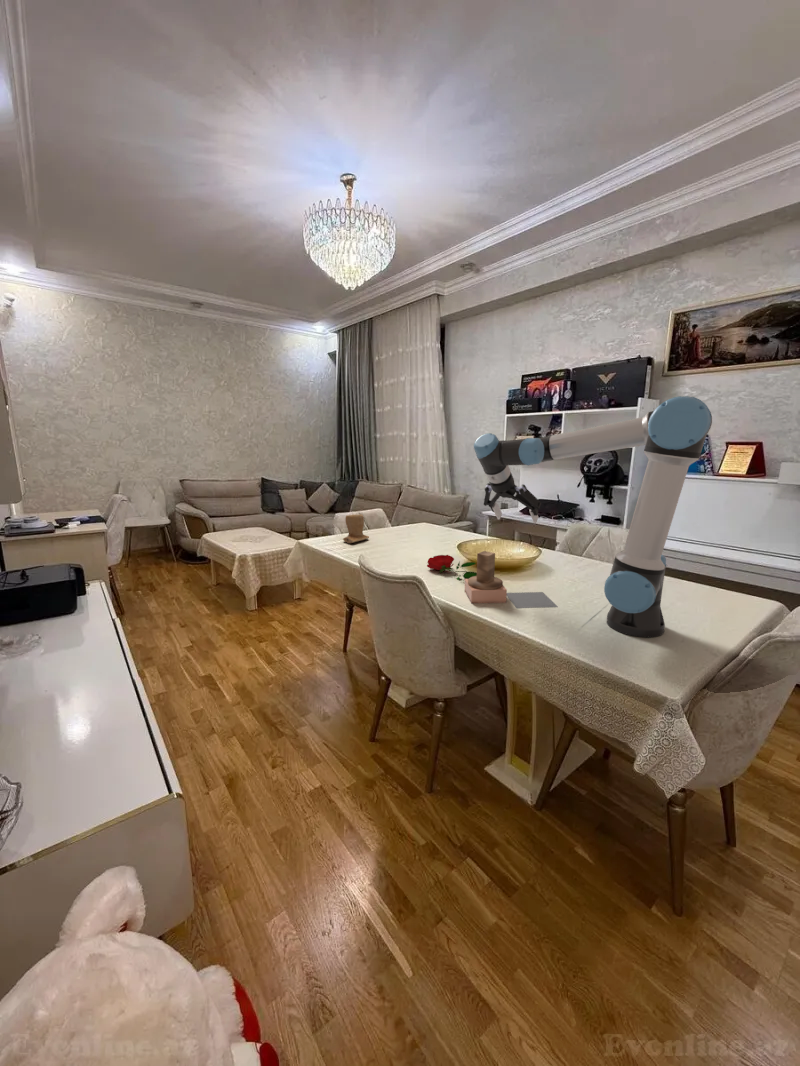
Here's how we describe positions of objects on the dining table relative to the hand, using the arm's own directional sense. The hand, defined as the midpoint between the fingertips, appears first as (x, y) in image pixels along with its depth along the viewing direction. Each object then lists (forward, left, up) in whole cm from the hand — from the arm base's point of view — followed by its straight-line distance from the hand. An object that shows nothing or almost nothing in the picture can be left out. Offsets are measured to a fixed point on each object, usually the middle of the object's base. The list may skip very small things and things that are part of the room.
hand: (517, 518), depth 152 cm
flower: (+19, +18, -28) cm, 38 cm away
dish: (-5, +12, -27) cm, 30 cm away
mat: (-9, -3, -27) cm, 29 cm away
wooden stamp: (+83, +63, -28) cm, 107 cm away
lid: (-5, +12, -22) cm, 26 cm away
